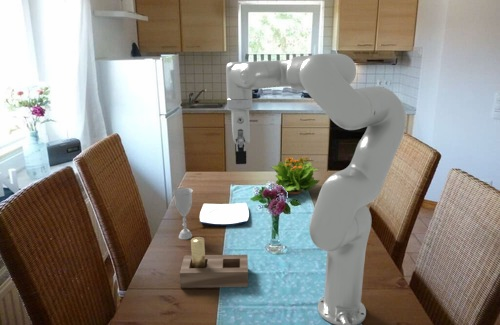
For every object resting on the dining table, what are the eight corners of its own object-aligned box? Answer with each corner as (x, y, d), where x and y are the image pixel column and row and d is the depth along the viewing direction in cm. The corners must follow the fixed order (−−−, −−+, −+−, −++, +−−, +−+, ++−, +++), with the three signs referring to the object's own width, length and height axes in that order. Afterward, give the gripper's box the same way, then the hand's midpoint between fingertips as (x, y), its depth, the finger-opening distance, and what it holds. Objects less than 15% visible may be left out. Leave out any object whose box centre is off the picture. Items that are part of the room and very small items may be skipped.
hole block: (248, 286, 118) (247, 271, 116) (180, 287, 118) (179, 272, 116) (247, 268, 127) (247, 254, 126) (185, 269, 127) (184, 255, 126)
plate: (197, 229, 156) (197, 222, 155) (202, 208, 175) (201, 202, 174) (249, 228, 156) (249, 221, 156) (248, 207, 176) (248, 202, 175)
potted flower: (259, 186, 201) (259, 153, 196) (299, 179, 211) (300, 147, 206) (284, 203, 180) (284, 166, 175) (327, 195, 189) (329, 159, 184)
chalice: (186, 230, 154) (184, 186, 149) (198, 235, 150) (196, 190, 145) (171, 237, 148) (168, 192, 143) (184, 242, 144) (181, 196, 139)
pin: (205, 278, 120) (203, 243, 117) (191, 278, 120) (190, 243, 117) (206, 271, 124) (204, 236, 121) (193, 271, 124) (191, 236, 121)
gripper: (253, 108, 110) (254, 167, 115) (250, 100, 127) (251, 152, 132) (226, 108, 110) (228, 167, 115) (227, 100, 127) (228, 152, 131)
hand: (240, 159), depth 123 cm, fingers open, 9 cm apart
